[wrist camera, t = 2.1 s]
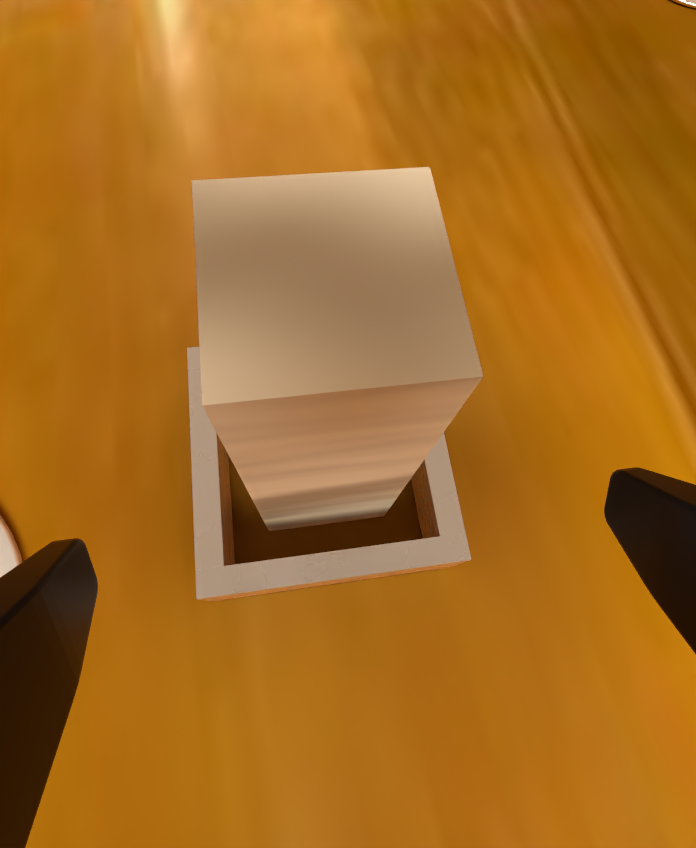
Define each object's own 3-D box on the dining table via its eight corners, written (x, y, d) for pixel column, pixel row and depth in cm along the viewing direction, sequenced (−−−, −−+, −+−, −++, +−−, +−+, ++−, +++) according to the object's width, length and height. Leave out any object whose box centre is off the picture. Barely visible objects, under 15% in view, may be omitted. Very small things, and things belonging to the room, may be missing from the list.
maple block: (383, 516, 22) (483, 376, 9) (269, 531, 22) (202, 405, 9) (366, 411, 24) (429, 167, 11) (259, 422, 23) (192, 180, 10)
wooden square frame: (451, 566, 22) (471, 559, 19) (212, 601, 21) (196, 599, 18) (408, 358, 25) (420, 326, 22) (201, 379, 24) (187, 347, 21)
